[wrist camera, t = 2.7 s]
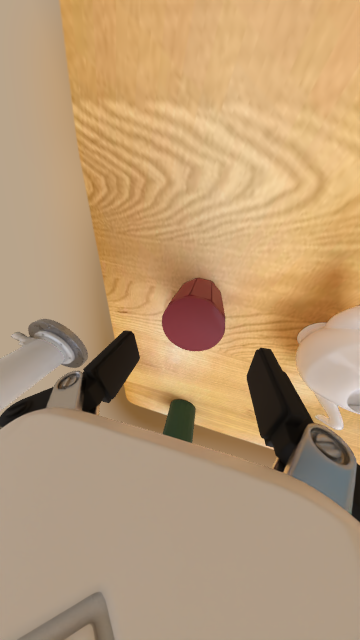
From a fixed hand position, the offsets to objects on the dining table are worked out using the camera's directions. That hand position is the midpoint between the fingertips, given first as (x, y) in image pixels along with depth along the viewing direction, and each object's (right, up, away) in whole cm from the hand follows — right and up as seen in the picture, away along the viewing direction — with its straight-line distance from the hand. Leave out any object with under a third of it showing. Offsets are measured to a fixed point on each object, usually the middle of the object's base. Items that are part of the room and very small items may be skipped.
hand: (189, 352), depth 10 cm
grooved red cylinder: (+2, +6, +10) cm, 12 cm away
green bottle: (0, -23, +27) cm, 35 cm away
